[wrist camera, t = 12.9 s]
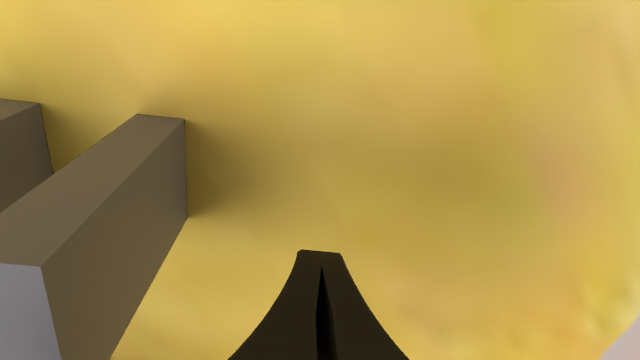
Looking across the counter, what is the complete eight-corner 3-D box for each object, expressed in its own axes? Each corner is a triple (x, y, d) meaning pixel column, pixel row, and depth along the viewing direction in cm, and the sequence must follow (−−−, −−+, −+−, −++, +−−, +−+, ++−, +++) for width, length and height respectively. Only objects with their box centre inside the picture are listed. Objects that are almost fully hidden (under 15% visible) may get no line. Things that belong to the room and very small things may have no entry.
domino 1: (187, 218, 20) (75, 420, 11) (145, 214, 19) (-5, 415, 10) (184, 119, 17) (40, 266, 8) (136, 113, 17) (-61, 257, 8)
